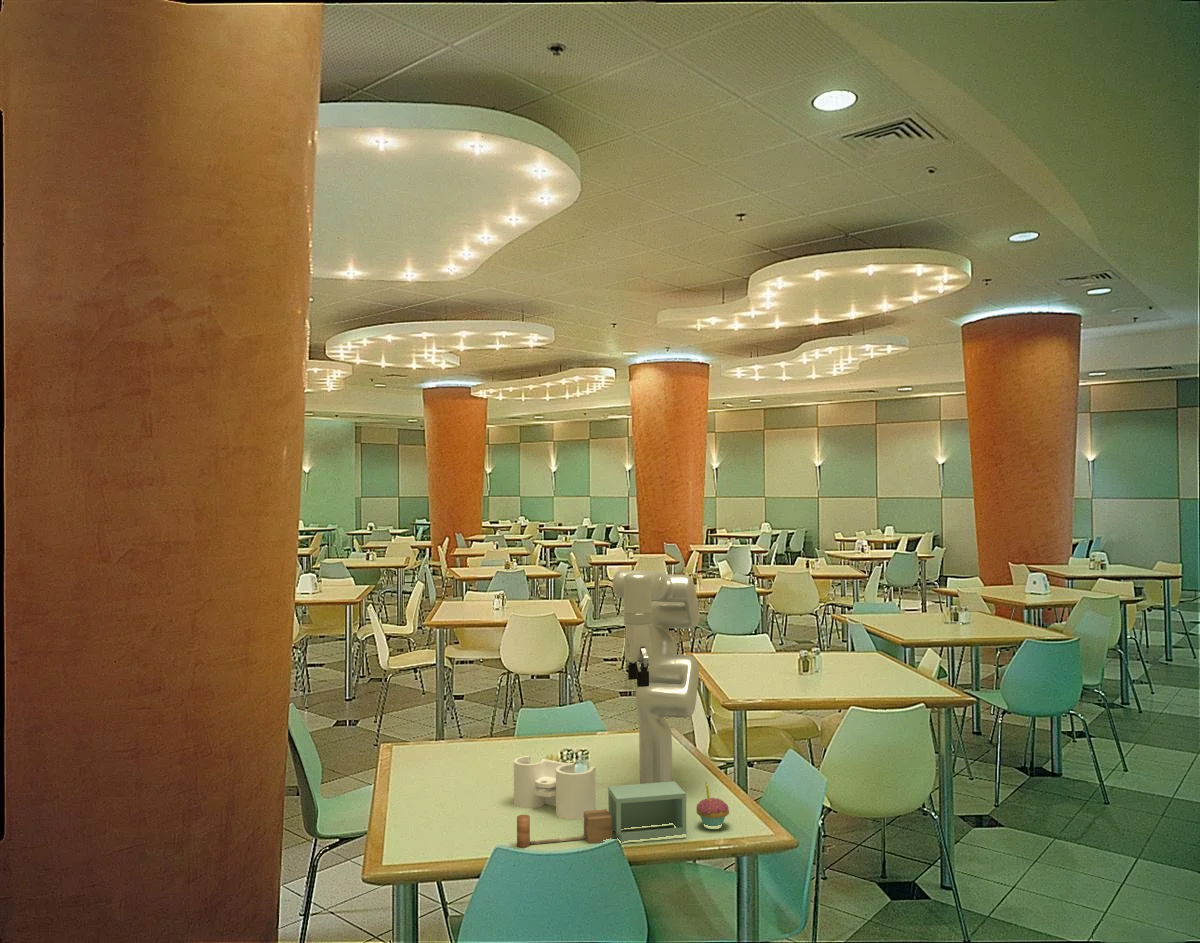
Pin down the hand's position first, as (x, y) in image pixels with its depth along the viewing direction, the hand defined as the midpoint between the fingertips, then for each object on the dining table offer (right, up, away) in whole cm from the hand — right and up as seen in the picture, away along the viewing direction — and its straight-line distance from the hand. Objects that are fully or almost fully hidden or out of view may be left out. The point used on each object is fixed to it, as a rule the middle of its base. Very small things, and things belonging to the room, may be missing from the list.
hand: (638, 682), depth 243 cm
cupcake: (+19, -36, -7) cm, 41 cm away
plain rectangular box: (+2, -36, -12) cm, 38 cm away
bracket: (-24, -37, +8) cm, 45 cm away
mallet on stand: (-19, -36, -16) cm, 44 cm away
